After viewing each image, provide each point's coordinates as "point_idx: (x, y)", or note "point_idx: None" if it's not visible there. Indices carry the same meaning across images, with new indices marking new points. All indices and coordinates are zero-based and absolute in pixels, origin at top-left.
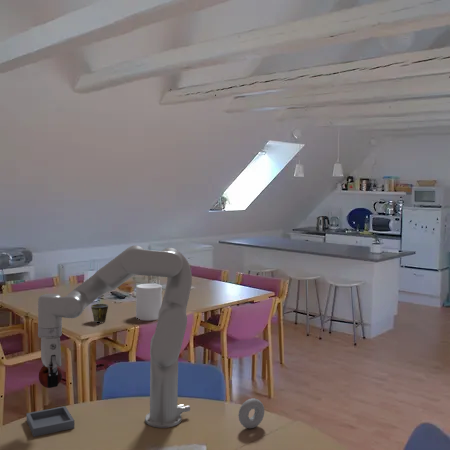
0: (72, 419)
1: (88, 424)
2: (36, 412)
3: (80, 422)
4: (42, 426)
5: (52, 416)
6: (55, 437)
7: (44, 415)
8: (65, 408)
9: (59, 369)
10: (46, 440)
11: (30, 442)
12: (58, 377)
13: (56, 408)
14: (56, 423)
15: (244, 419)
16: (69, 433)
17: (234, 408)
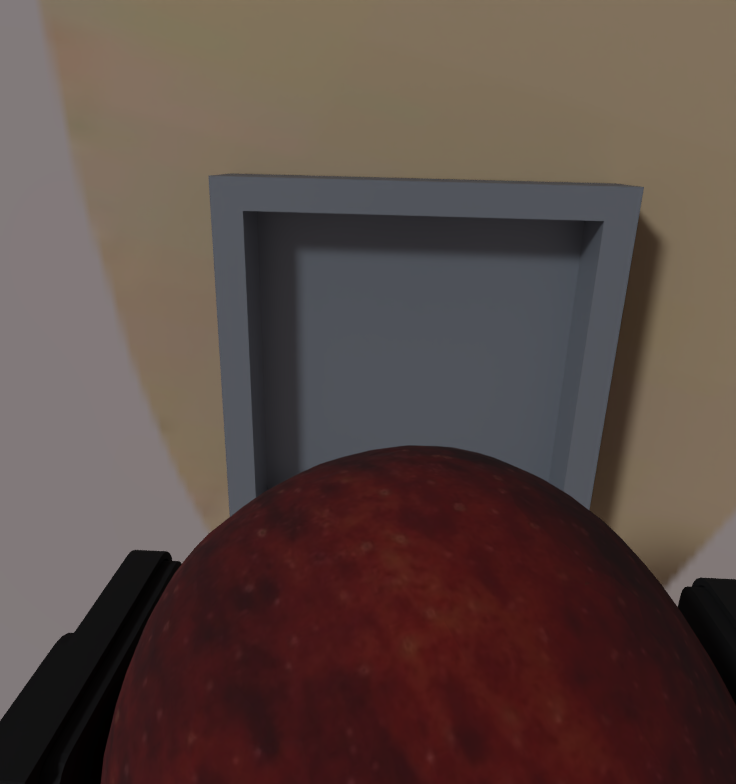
0: (605, 199)
1: (625, 18)
2: (251, 468)
3: (527, 87)
4: (581, 489)
5: (290, 317)
6: (685, 382)
7: (261, 385)
8: (280, 192)
9: (614, 762)
10: (688, 454)
11: (641, 553)
12: (702, 650)
13: (236, 280)
14: (598, 370)
15: None
16: (693, 257)
17: None
